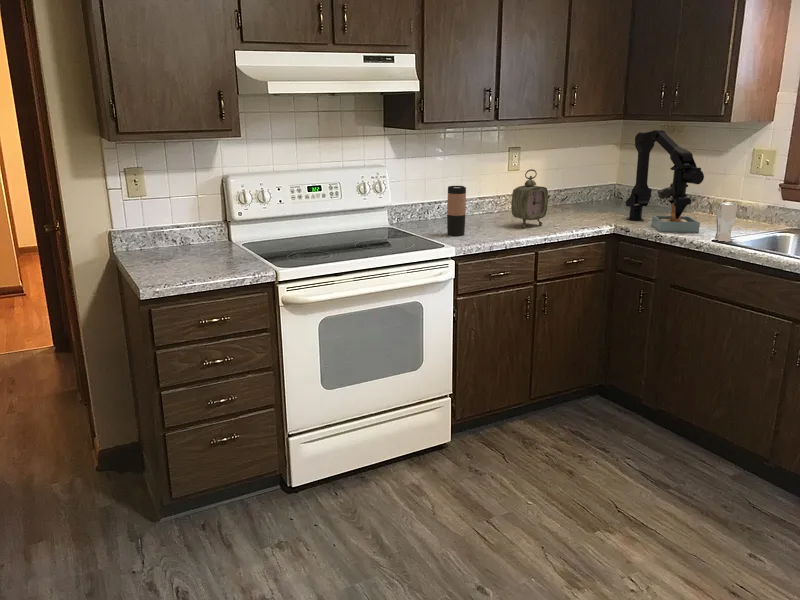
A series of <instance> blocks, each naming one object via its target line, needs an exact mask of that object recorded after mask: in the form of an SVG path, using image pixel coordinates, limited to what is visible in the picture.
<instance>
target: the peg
mask: <svg viewBox="0 0 800 600" xmlns="http://www.w3.org/2000/svg"><path fill="white" fill-rule="evenodd" d="M673 203H674V202H673ZM670 216H671V219H670V222H680V219H681V216H682V214H681V215H680V217H679V218H678V219H676V218H675V206H674V205H673V204H672V207H671V211H670Z"/></svg>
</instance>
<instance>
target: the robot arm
mask: <svg viewBox="0 0 800 600" xmlns="http://www.w3.org/2000/svg"><path fill="white" fill-rule="evenodd" d="M655 142H657V144H659V145H660V147H662V148H663V149H664V151H666V152H667V153H668V154H669V159H670V161H671V162H672V164H673V166H671V167H670V171H671V170H672V171H673V178H672V182H671V183H670V185H669V186H668V187H665V188H662V189H658V190H656V192H657V196H658V199H660V200H663V199H667V202H668V203H669V204H670V206H671V208H672V204H673V205H674V206H675V218H676V219H678V218H679V217H680V215H681V216H682V213H683V212H684V210H685V209H686V207H687V206H688V205H691V204H692V198H690V197H689V196H688V194H687V188H688V187H689V184H692V185H700V184H701V183H702V182H703V181H704V178H705V175H704V172H703V171H702V168H701V167H697V163H696V162H695V159H694V157H693V156H694V155H693V153H692V152H691V151H689V150H688V149H686V148H683V147H681V146H680V145H678V144H677V143H676V142H675V141H674V139H672V138H671V137H670V136H669V135H668V134H667V133H666V131H665V130H663V129H654V130H651V131H646V132H643V131H642V132H638V133H637V134H636V135H635V137H634V146H635V149H636V151H637V164H636V165H637V166H636V174H635V175H636V178H635V184H634V186H633V188H631V189H632V190H631V191H630V193H631V194H630V196H629V197H628V198H627V199H626V201H625V207H629V214H628V216H626V218H627V220H629V221H644V218H643V212H644V211H643V209H644V207H648V205H649V202H650V200H651V198H652V188H650V186H649V185H648V180H649V179H648V178H649V165H650V153H651V151H652V150H653V148H654V146H655ZM673 202H674V203H673Z"/></svg>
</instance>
